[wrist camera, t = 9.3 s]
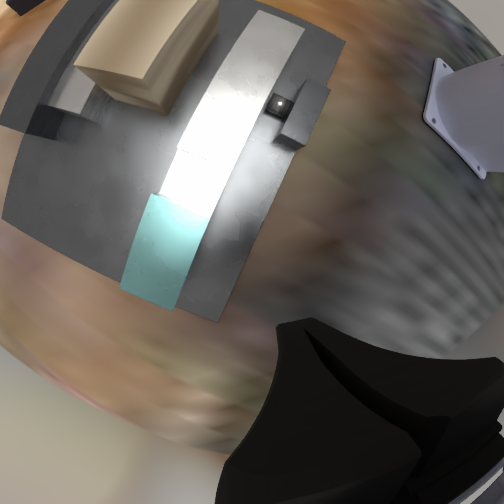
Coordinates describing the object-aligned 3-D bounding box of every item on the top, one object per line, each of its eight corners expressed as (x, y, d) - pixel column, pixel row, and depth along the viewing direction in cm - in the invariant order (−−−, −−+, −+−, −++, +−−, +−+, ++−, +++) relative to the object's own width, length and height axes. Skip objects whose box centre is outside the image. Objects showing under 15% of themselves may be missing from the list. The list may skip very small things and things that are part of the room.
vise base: (344, 43, 14) (367, 20, 11) (217, 320, 18) (217, 351, 14) (124, -21, 11) (113, -46, 7) (3, 217, 14) (-27, 224, 10)
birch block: (218, 31, 13) (219, -24, 7) (168, 116, 14) (142, 79, 9) (166, 19, 13) (151, -34, 7) (115, 99, 14) (73, 65, 8)
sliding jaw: (294, 46, 14) (311, 18, 10) (182, 286, 17) (172, 311, 13) (253, 29, 13) (261, -2, 10) (138, 268, 16) (119, 288, 12)
